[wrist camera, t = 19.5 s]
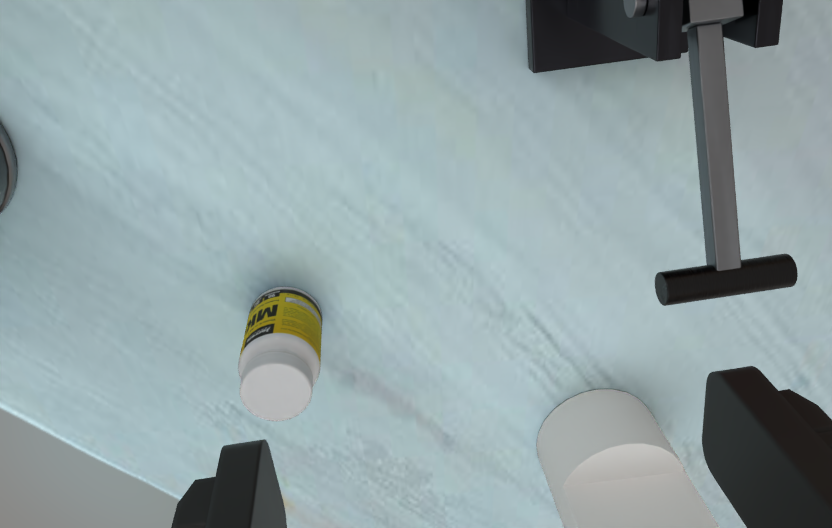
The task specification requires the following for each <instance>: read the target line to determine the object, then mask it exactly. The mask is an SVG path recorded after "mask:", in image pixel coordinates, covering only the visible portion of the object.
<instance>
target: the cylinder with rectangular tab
mask: <svg viewBox="0 0 832 528" xmlns="http://www.w3.org/2000/svg"><path fill="white" fill-rule="evenodd" d="M536 446H537V452H538V458H539V461H540V463H541V466H542V469H543V471H544V474H545V477H546V480H547V482H548V485H549V488H550V491H551V493H552V496H553V499H554V502H555V504H556V507H557V510H558V513H559V515H560V518H561V521H562V523H563V526H564V528H720V527H719V525H718V524H717V522H716V520H715V519H714V517H713V516H712V514H711V512H710V511H709V509H708V507H707V506H706V504H705V503H704V501H703V499H702V498H701V496H700V494H699V493H698V491H697V490H696V488H695V486H694V485H693V483H692V481H691V480H690V478H689V477H688V475H687V473H686V472H685V469H684V467H683V465H682V463H681V461H680V459H679V458H678V456H677V455H676V453H675V451H674V450H673V448H672V447H671V445H670V443H669V442H668V440H667V438H666V437H665V435H664V434H663V432H662V430H661V429H660V427H659V425H658V424H657V422H656V421H655V419H654V417H653V416H652V414H651V412H650V411H649V409H648V408H647V407H646V406H645V405H644V404H643V403H642V401H641V400H640V399H638V398H636V397H635V396H633V395H631V394H629V393H627V392H623V391H618V390H614V389H597V390H593V391H588V392H584V393H581V394H578V395H576V396H574V397H572V398H570V399H568V400H566V401H565V402H563V403H562V404H561V405H559V406H558V407H556V408H555V409H554V410H553V411H552V412H551V414H550V415H549V416H548V417H547V418H546V419H545V421H544V423H543V425H542V427H541V429H540V431H539V433H538V438H537V444H536Z"/></svg>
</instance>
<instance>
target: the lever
mask: <svg viewBox="0 0 832 528" xmlns="http://www.w3.org/2000/svg"><path fill="white" fill-rule="evenodd" d="M743 16H744V8H743V0H683V18H682V32H687V38H688V50H689V61H690V73H691V85H692V97H693V109H694V120H695V132H696V144H697V156H698V167H699V179H700V191H701V203H702V214H703V226H704V238H705V250H706V261H707V265H705V266H699V267H692V268H685V269H678V270H671V271H665V272H659V273H657V275H656V277H655V289H656V294H657V297H658V299H659V301H660V303H661V304H662V305H664V306H666V305H673V304H679V303H686V302H693V301H699V300H706V299H713V298H720V297H726V296H733V295H740V294H746V293H753V292H760V291H766V290H773V289H780V288H786V287H792V286H793V285H795V283H796V281H797V267H796V264H795V262H794V260H793V258H792V257H791V256H790V255H788V254H780V255H773V256H766V257H759V258H753V259H746V260H741V257H740V244H739V232H738V219H737V206H736V193H735V181H734V168H733V155H732V142H731V130H730V117H729V104H728V91H727V79H726V66H725V53H724V41H723V28H722V25H723V24H726V23H728V22H731V21H733V20H736V19H738V18H741V17H743Z"/></svg>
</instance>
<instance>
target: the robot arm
mask: <svg viewBox="0 0 832 528" xmlns="http://www.w3.org/2000/svg"><path fill="white" fill-rule="evenodd" d="M16 181H17V164H16V158H15V154H14V150H13V147H12V145H11V142H10V140H9V138H8V136H7V134H6V132H5V130H4V129H3V127H2V126H1V124H0V214H1V213H2V212H3V211H4V210H5V208H6V207H7V206H8V204H9V202H10V200H11V198H12V196H13V194H14V190H15V187H16ZM702 446H703V452H704V456H705V460H706V463H707V465H708V468H709V470H710V472H711V473H712V475H713V477H714V478H715V480H716V481H717V483H718V484H719V486H720V487H721V489H722V490H723V492H724V493H725V495H726V496H727V498H728V499H729V501H730V502H731V504H732V505H733V507H734V508H735V510H736V512H737V513H738V515H739V516H740V518H741V519H742V521H743V522H744V524H745V525H746V527H747V528H832V420H831V419H830V418H829V417H828V415H827V414H826V413H825V412H824V411H823V410H822V409H821V408H820V407H819V406H818V405H816V404H815V403H813V402H811V401H809V400H807V399H806V398H804V397H802V396H800V395H799V394H797V393H795V392H793V391H791V390H790V389H788V390H782V391H778V390H777V389H776V388H775V387H774V386H773V385H772V383H771V382H770V381H769V380H768V379H767V378H766V377H765V376H764V375H763V374H762V372H761V371H760V370H759V369H757V368H756V367H753V366H749V367H742V368H736V369H729V370H723V371H716V372H712V373H710V374H709V376H708V378H707V383H706V395H705V407H704V420H703V433H702ZM171 528H287V525H286V514H285V508H284V503H283V499H282V495H281V491H280V487H279V483H278V480H277V476H276V472H275V468H274V464H273V460H272V456H271V453H270V449H269V446H268V443H267V441H266V440H258V441H252V442H245V443H239V444H232V445H226V446H223V447H222V450H221V453H220V458H219V463H218V468H217V472H216V477H211V478H205V479H199V480H195V481H194V482H193V484H192V485H191V486H190V488H189V489H188V491H187V492H186V493H185V495H184V496H183V497H182V499H181V500H180V501H179V503H178V504H177V508H176V512H175V516H174V520H173V523H172V527H171Z"/></svg>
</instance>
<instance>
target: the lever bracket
mask: <svg viewBox="0 0 832 528" xmlns="http://www.w3.org/2000/svg"><path fill="white" fill-rule="evenodd" d="M782 5H783V0H743V8H744V16H743V17H741V18H738V19H736V20H733V21H731V22H728V23H726V24H723V25H722V28H723V37H725V38H728V39H731V40H734V41H737V42H740V43H743V44H745V45H748V46H751V47H754V48H759V47H766V46H773V45H778V43H779V33H780V24H781V14H782ZM526 17H527V40H528V63H529V69H530V70H531V71H532V72H533V73H539V72H546V71H553V70H561V69H568V68H575V67H582V66H590V65H597V64H604V63H612V62H619V61H626V60H634V59H641V58H648V57H649V58H651V59H653V60H655V61H664V60H672V59H679V58H680V57H681V53H685V52H688V38H687V32H682V18H683V0H526Z"/></svg>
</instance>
